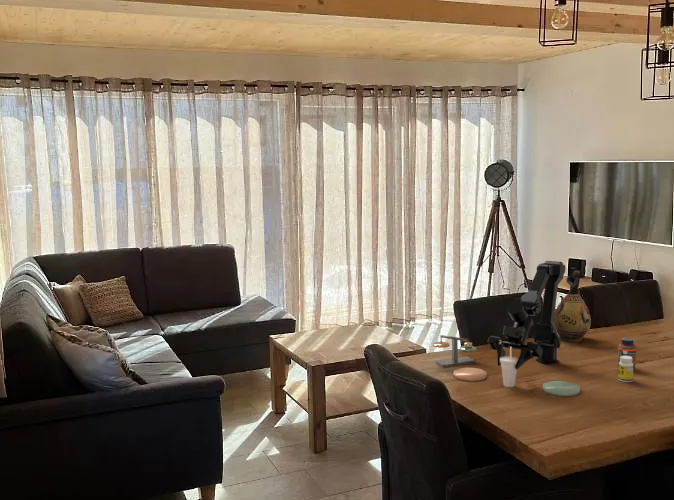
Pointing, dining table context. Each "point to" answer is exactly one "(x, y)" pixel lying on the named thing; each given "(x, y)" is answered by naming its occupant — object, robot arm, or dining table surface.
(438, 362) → the balance
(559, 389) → the green dish
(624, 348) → the supplement bottle
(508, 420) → the dining table surface
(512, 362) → the smoothie
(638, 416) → the dining table surface
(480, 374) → the terracotta dish
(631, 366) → the supplement bottle
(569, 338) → the ceramic jug
